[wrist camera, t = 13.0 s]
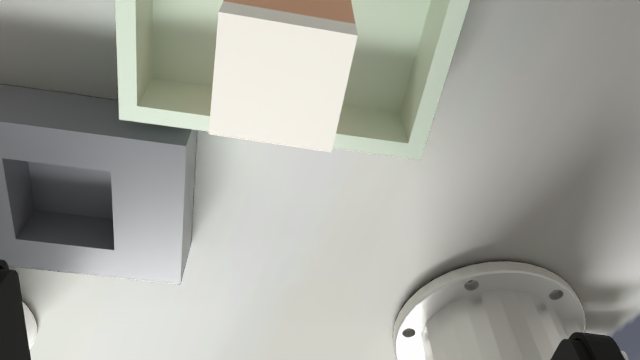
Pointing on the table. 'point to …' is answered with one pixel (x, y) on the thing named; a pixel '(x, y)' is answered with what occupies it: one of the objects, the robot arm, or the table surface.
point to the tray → (363, 82)
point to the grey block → (93, 188)
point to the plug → (282, 70)
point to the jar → (30, 325)
